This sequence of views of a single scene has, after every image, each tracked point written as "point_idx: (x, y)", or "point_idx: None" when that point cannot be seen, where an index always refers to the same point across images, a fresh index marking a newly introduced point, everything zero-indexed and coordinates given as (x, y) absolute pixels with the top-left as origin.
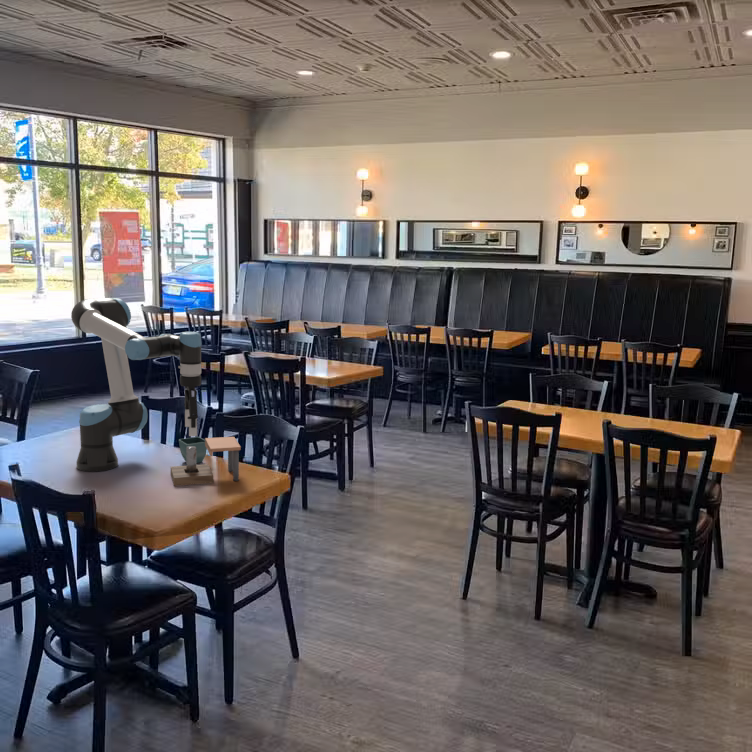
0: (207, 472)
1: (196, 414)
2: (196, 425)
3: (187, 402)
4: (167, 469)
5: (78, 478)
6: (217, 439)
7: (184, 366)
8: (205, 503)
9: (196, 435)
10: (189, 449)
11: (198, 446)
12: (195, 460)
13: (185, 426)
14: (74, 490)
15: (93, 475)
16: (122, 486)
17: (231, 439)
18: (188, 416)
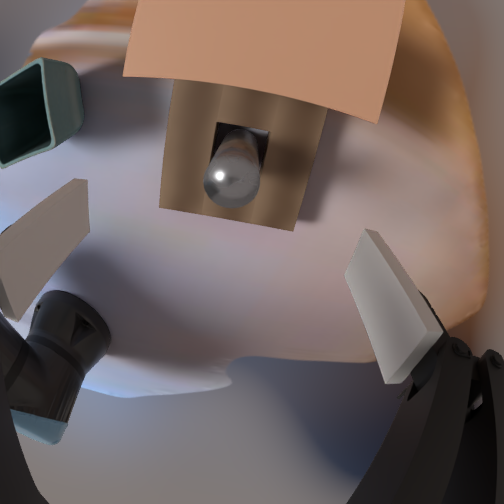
0: (288, 104)
1: (502, 383)
2: (409, 285)
3: (4, 408)
4: (115, 193)
5: (148, 364)
6: (182, 10)
7: None
8: (455, 197)
9: (378, 237)
10: (253, 196)
11: (55, 94)
12: (253, 150)
13: (87, 231)
14: (220, 380)
15: (133, 344)
16: (230, 322)
17: None
18: (44, 254)
